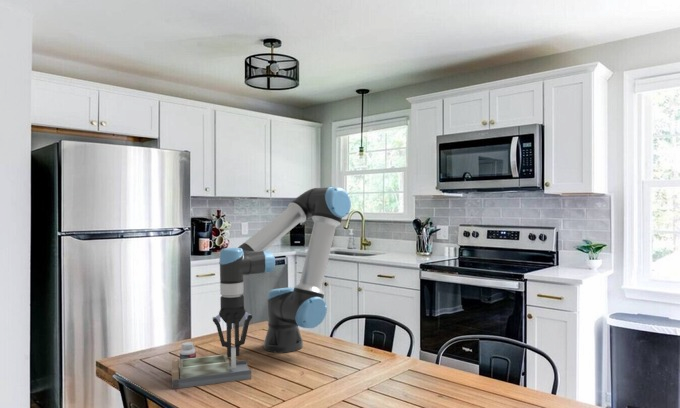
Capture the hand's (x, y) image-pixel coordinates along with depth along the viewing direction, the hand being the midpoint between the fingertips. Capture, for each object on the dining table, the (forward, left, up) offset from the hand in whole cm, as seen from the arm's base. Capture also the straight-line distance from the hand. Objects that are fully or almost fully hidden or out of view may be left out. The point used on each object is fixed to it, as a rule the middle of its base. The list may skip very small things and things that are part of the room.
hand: (233, 366), depth 155 cm
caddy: (+9, 0, -1) cm, 9 cm away
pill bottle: (+14, -11, -3) cm, 18 cm away
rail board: (+7, 0, -3) cm, 8 cm away
